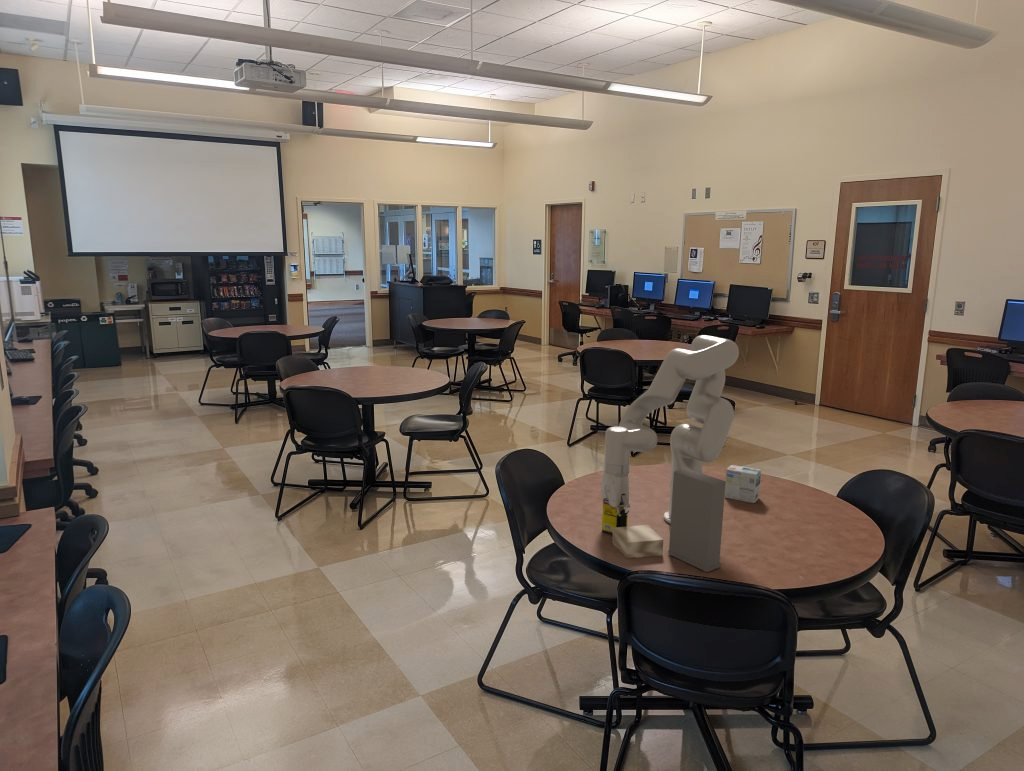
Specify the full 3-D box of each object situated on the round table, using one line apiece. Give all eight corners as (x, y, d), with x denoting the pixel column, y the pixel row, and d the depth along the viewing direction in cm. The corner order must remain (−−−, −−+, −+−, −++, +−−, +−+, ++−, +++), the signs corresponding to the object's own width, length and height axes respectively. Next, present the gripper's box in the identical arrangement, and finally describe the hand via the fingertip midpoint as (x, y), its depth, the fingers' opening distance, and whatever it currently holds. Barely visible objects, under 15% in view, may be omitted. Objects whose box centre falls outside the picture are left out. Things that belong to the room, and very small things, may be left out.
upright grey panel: (721, 567, 190) (728, 480, 185) (706, 573, 187) (713, 485, 182) (682, 549, 201) (687, 467, 196) (668, 554, 198) (673, 471, 193)
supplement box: (618, 536, 209) (619, 502, 207) (601, 532, 213) (602, 498, 211) (627, 530, 214) (629, 497, 212) (610, 525, 218) (611, 492, 215)
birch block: (646, 540, 208) (647, 524, 207) (662, 555, 198) (663, 539, 197) (612, 543, 206) (612, 527, 205) (626, 559, 195) (627, 542, 194)
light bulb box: (759, 498, 244) (762, 469, 242) (754, 504, 238) (757, 474, 236) (728, 492, 250) (731, 463, 248) (723, 497, 244) (725, 468, 242)
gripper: (593, 460, 216) (591, 513, 220) (618, 477, 200) (616, 534, 204) (614, 458, 219) (613, 510, 222) (641, 475, 202) (639, 531, 206)
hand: (614, 521), depth 213 cm, fingers closed on supplement box, 8 cm apart
